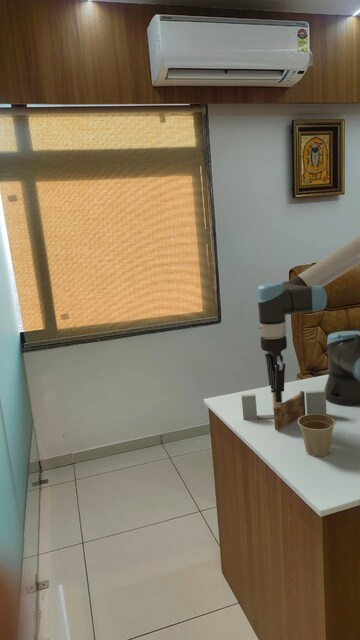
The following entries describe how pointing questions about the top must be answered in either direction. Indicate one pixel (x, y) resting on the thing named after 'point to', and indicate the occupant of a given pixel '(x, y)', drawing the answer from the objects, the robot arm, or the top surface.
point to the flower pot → (317, 433)
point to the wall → (313, 406)
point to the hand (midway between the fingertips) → (277, 410)
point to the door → (289, 411)
